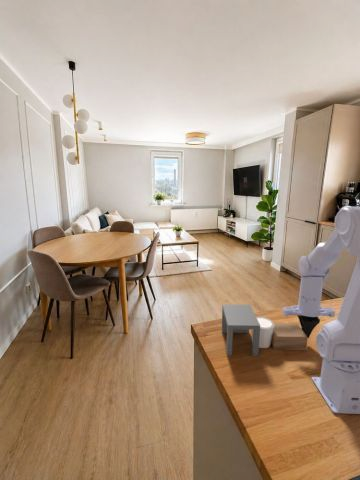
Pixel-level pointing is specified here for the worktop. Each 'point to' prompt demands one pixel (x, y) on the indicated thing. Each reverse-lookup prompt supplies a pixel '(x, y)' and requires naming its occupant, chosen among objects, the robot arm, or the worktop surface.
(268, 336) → the white cylinder
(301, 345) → the tan wooden chunk
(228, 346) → the grey tunnel arch
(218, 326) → the worktop surface
